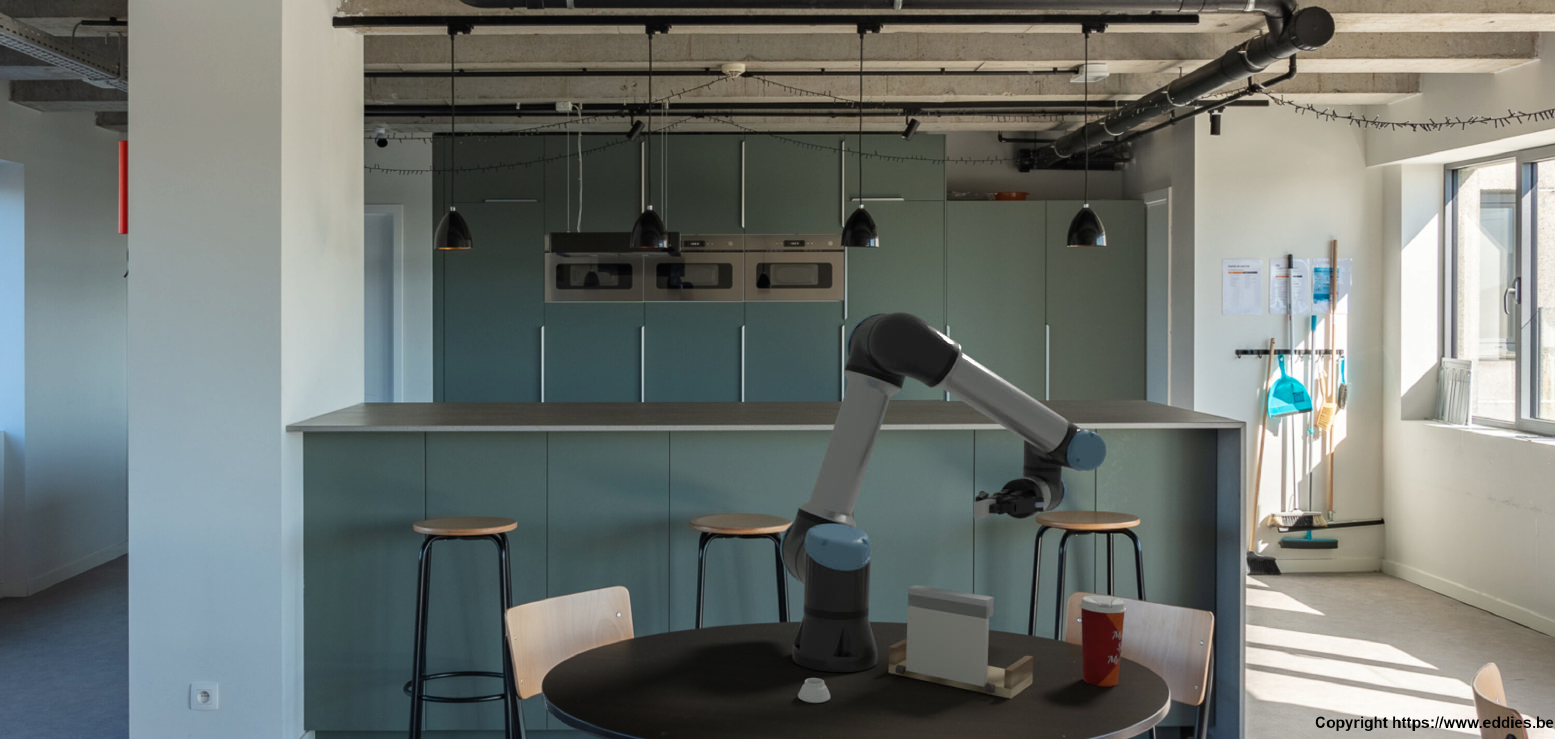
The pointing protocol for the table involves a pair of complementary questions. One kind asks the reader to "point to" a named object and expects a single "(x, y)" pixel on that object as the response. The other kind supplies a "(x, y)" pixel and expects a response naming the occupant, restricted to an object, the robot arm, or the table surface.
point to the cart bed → (997, 684)
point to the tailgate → (948, 634)
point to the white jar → (814, 691)
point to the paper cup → (1102, 639)
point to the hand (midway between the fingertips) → (977, 510)
